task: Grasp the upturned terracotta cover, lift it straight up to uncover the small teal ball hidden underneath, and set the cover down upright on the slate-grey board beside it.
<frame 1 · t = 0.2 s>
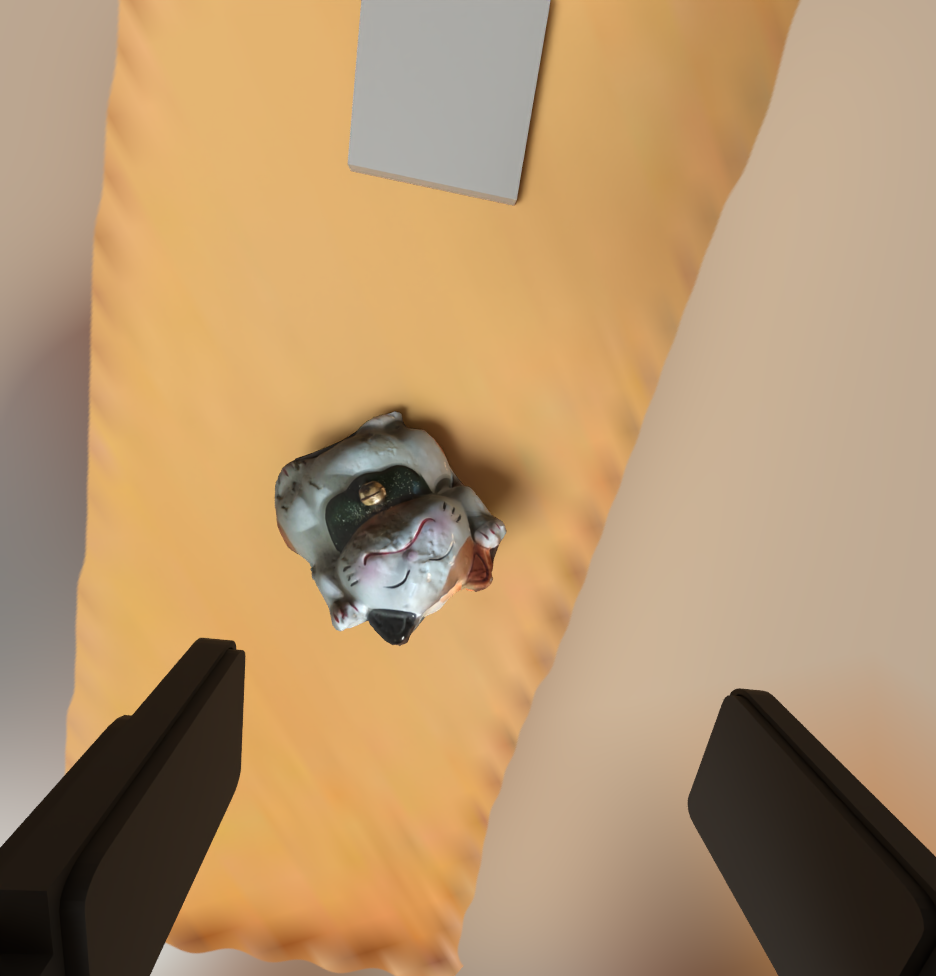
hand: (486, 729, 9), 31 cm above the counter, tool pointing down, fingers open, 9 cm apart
lucky cat figurine: (394, 496, 40), on the counter
slate board: (446, 92, 32), on the counter
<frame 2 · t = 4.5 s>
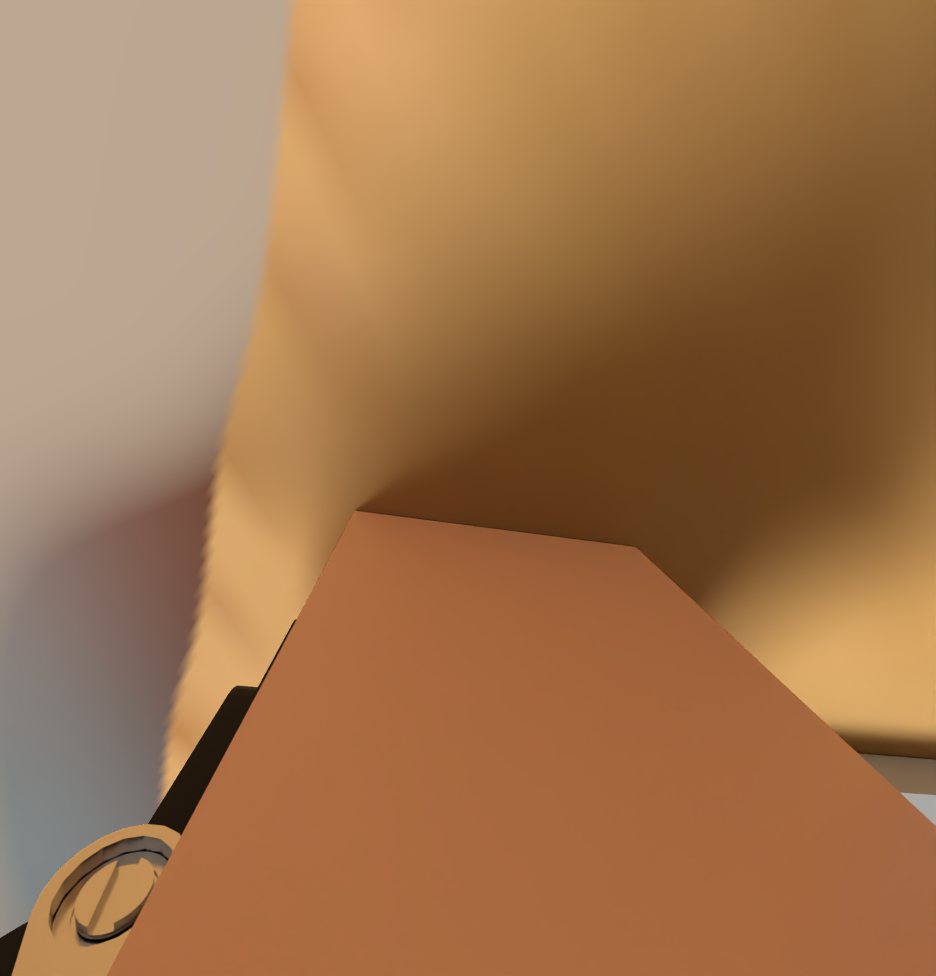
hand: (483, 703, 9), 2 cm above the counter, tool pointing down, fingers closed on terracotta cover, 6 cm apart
slate board: (867, 911, 15), on the counter
terracotta cover: (476, 653, 11), on the counter, touching gripper
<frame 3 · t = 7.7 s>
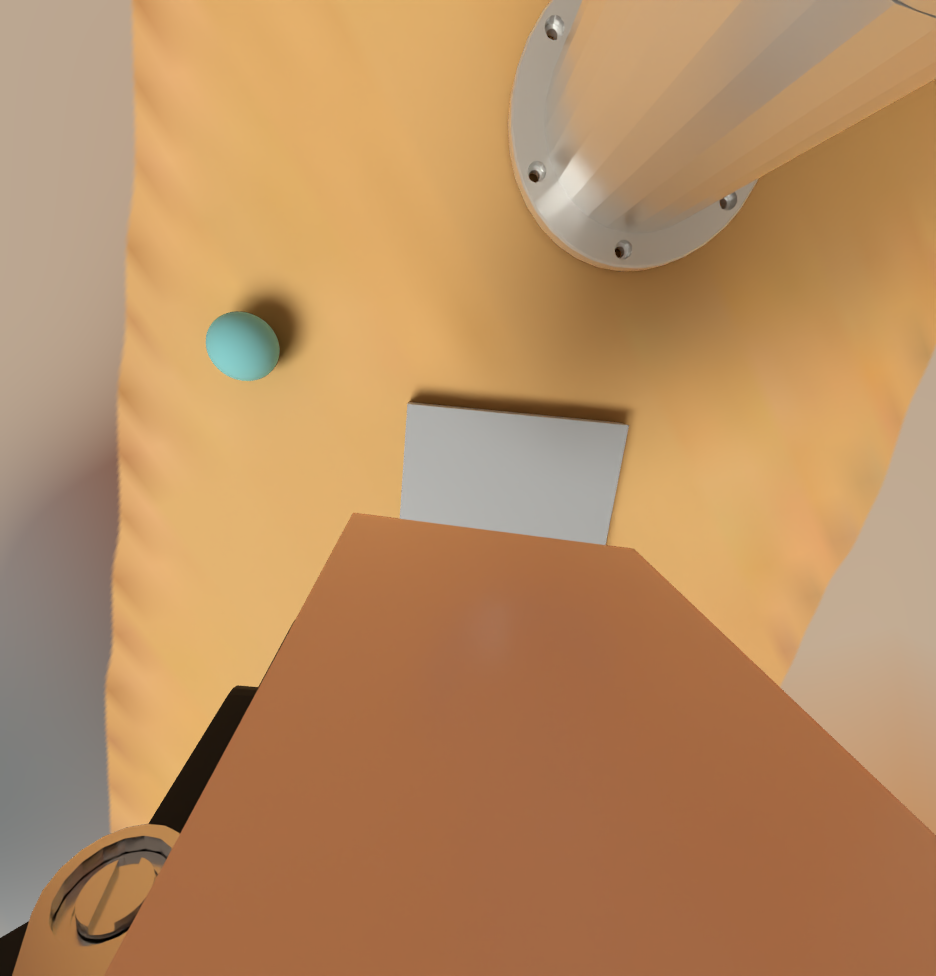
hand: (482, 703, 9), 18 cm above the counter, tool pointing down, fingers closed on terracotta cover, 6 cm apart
slate board: (503, 514, 27), on the counter
terracotta cover: (474, 654, 11), point 16 cm above the counter, touching gripper
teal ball: (256, 347, 24), on the counter
when the fingers open (4 cm above the counter, at t = 11.0 s): terracotta cover drops 1 cm, resting on slate board.
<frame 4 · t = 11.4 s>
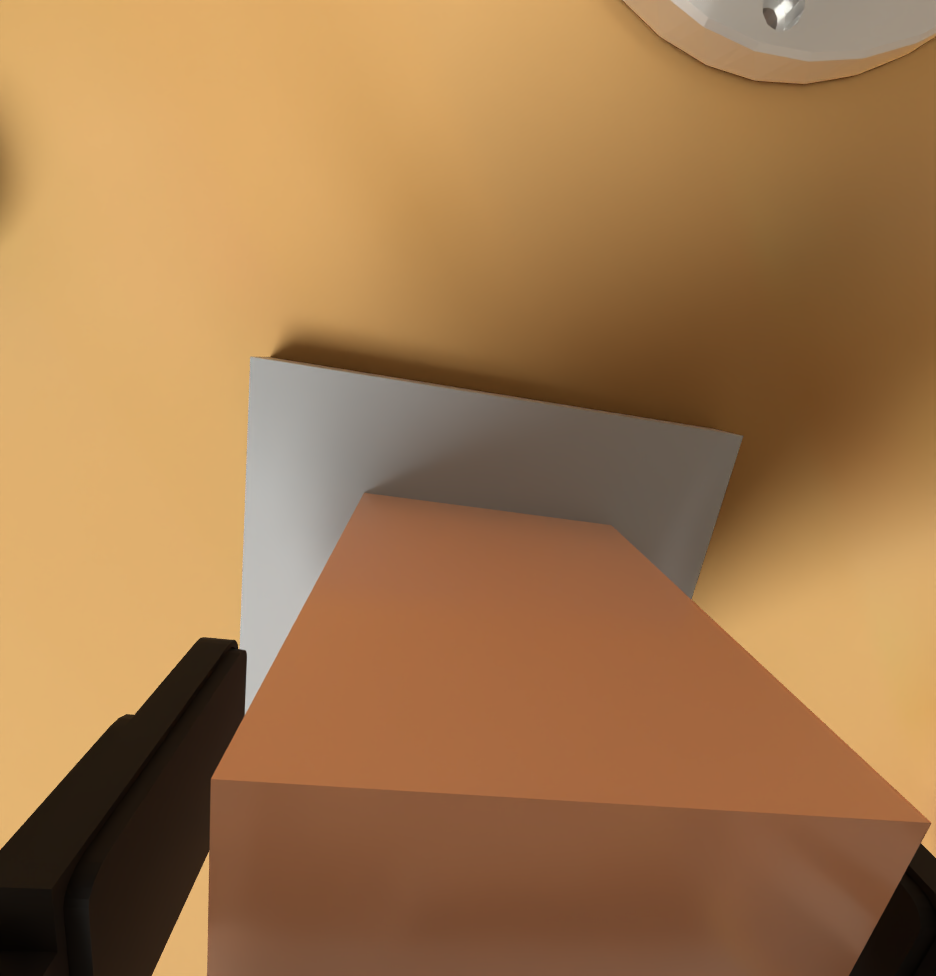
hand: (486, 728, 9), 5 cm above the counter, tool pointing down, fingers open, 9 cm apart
slate board: (468, 598, 14), on the counter
terracotta cover: (471, 620, 12), point 1 cm above the counter, touching slate board
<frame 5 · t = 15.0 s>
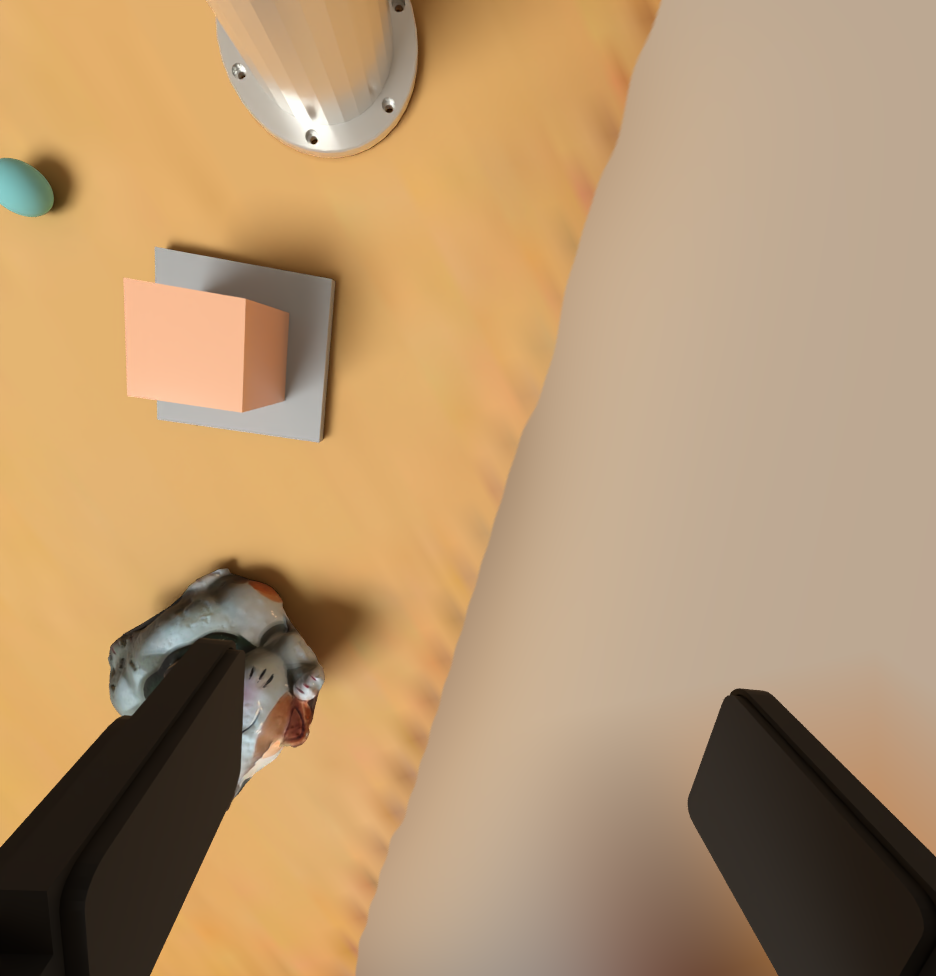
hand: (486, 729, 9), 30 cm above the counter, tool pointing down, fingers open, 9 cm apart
lucky cat figurine: (245, 636, 42), on the counter
slate board: (248, 351, 35), on the counter
terracotta cover: (242, 351, 34), point 1 cm above the counter, touching slate board
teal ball: (41, 196, 31), on the counter
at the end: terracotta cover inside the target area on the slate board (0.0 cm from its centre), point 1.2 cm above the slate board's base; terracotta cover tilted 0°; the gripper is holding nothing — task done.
